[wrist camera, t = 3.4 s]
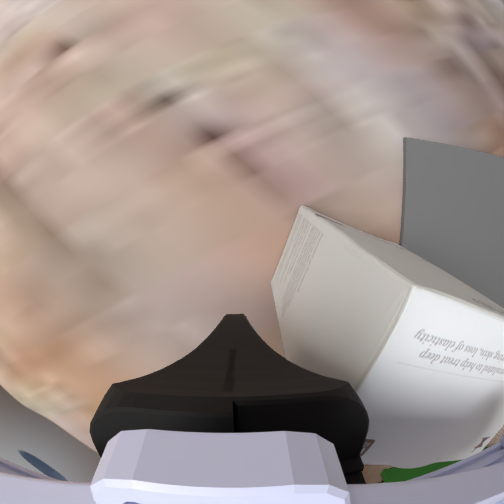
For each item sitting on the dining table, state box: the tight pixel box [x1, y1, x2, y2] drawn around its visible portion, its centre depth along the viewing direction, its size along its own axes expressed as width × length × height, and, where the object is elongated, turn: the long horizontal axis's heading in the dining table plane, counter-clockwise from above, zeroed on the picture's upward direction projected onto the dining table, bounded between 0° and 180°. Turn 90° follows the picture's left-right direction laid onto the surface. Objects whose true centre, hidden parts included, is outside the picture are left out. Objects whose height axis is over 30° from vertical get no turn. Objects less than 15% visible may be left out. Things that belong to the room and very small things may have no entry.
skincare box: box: [271, 205, 504, 469], centre depth 14 cm, size 8×6×15 cm
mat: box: [400, 138, 504, 308], centre depth 21 cm, size 18×16×1 cm
